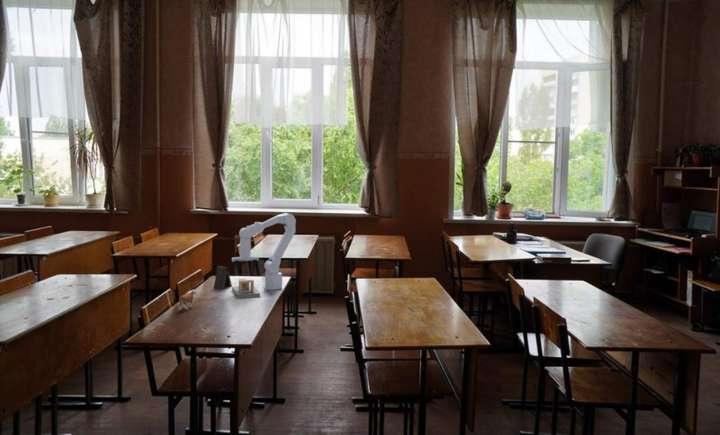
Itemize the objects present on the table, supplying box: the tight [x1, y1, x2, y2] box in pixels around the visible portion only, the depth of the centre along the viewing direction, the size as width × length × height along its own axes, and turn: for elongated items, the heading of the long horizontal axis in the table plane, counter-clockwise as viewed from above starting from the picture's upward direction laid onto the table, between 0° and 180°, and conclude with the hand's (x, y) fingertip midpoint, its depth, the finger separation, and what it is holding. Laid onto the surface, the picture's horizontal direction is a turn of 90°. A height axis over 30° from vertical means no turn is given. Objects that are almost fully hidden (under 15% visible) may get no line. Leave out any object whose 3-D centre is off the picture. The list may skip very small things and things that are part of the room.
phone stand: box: [213, 265, 233, 290], centre depth 331 cm, size 9×6×12 cm, turn 156°
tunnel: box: [238, 279, 255, 291], centre depth 315 cm, size 8×3×5 cm, turn 110°
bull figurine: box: [178, 289, 198, 311], centre depth 284 cm, size 4×13×8 cm, turn 164°
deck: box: [231, 285, 261, 299], centre depth 317 cm, size 12×20×2 cm, turn 20°
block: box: [238, 277, 250, 290], centre depth 323 cm, size 4×10×4 cm, turn 20°
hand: (245, 273), depth 324 cm, fingers open, 7 cm apart
